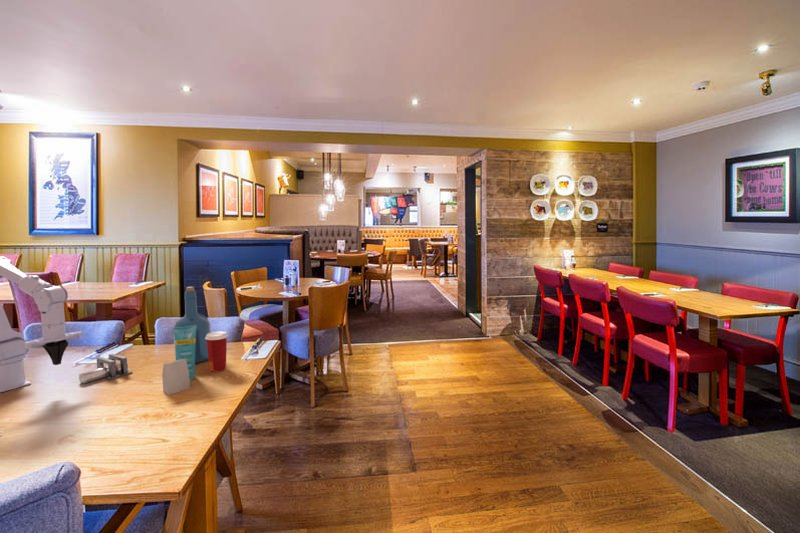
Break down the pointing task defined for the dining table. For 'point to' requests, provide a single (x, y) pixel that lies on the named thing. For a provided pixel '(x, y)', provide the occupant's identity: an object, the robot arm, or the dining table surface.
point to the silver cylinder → (98, 373)
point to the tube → (186, 346)
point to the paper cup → (216, 350)
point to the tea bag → (175, 376)
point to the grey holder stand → (110, 367)
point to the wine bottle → (195, 319)
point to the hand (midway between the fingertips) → (56, 364)
